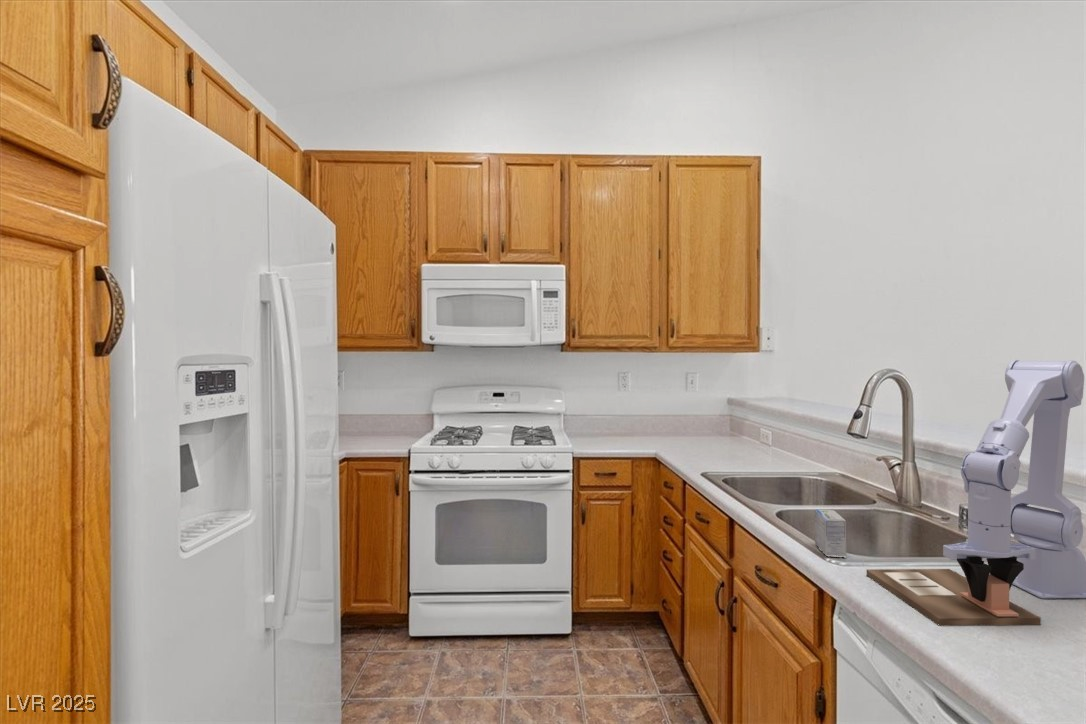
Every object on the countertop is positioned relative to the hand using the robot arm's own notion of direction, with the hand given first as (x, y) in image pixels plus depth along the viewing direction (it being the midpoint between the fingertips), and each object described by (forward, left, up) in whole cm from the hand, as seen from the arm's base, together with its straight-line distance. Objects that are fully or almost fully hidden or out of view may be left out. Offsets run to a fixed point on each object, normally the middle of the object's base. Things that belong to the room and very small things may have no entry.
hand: (988, 598), depth 92 cm
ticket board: (+3, -6, -3) cm, 7 cm away
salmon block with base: (0, 0, -1) cm, 1 cm away
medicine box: (+12, -29, -3) cm, 32 cm away
